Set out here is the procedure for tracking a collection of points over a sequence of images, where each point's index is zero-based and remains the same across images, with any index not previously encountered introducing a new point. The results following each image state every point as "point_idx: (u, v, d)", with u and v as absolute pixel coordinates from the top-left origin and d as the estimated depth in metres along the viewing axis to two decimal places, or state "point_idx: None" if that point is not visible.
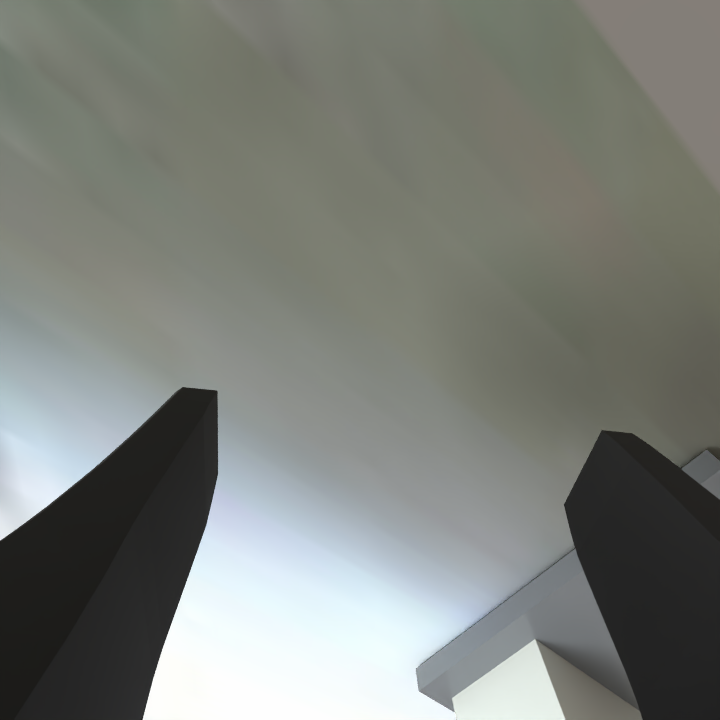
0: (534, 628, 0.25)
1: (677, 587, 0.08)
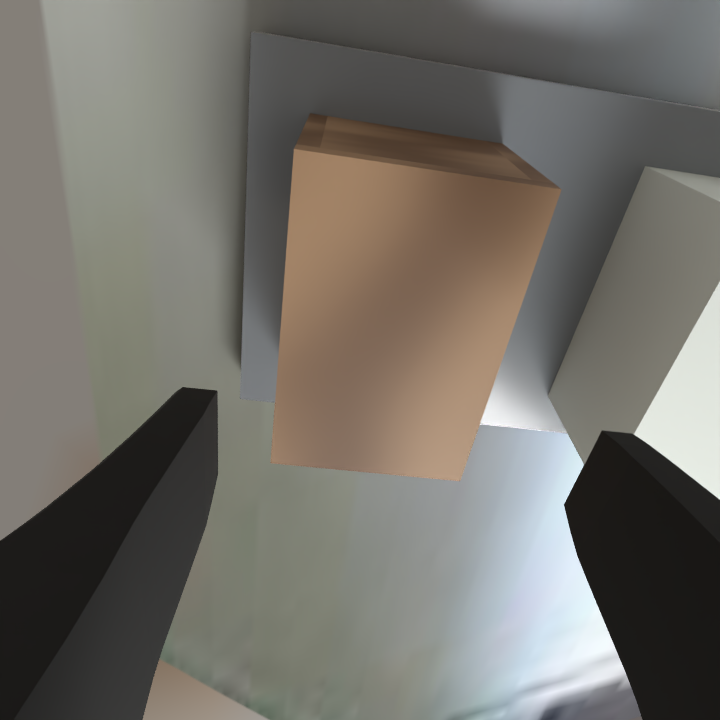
0: (531, 406, 0.20)
1: (677, 588, 0.08)
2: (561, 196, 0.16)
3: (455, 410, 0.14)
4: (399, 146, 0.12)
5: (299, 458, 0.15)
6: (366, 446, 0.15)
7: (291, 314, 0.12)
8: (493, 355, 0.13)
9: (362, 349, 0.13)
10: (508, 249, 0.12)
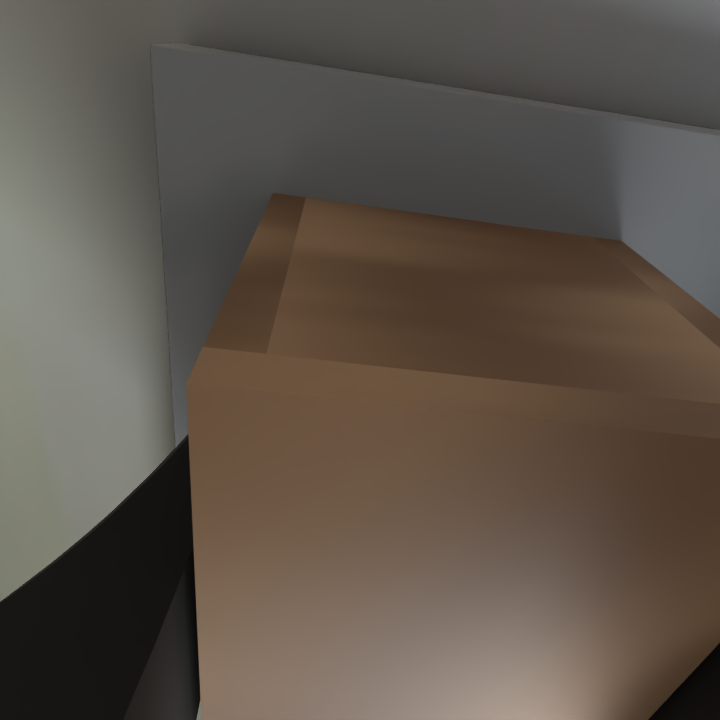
0: None
1: None
2: None
3: None
4: (454, 297, 0.06)
5: None
6: None
7: (220, 660, 0.06)
8: (641, 705, 0.06)
9: (374, 701, 0.06)
10: None
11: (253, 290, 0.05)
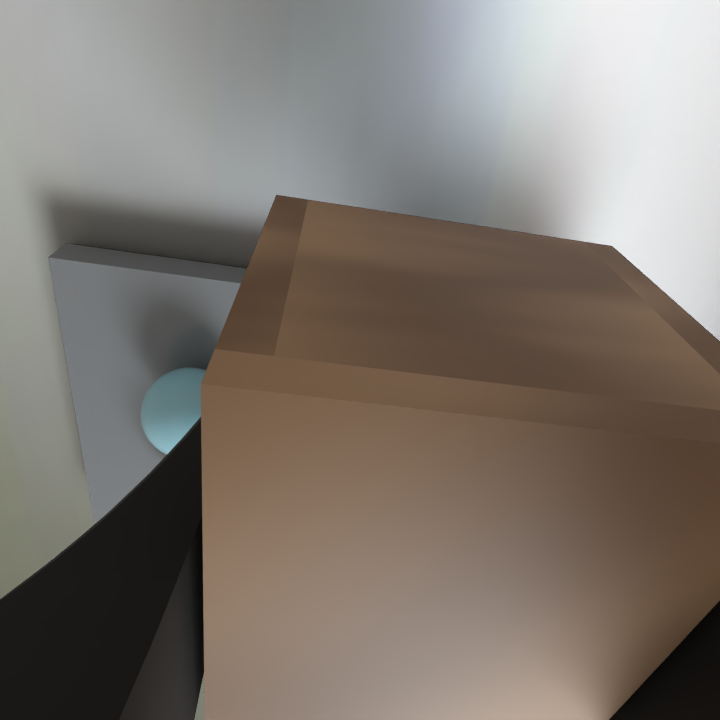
0: None
1: None
2: None
3: None
4: (450, 302, 0.06)
5: None
6: None
7: (224, 642, 0.06)
8: (620, 688, 0.07)
9: (367, 682, 0.07)
10: (693, 553, 0.05)
11: (260, 293, 0.05)
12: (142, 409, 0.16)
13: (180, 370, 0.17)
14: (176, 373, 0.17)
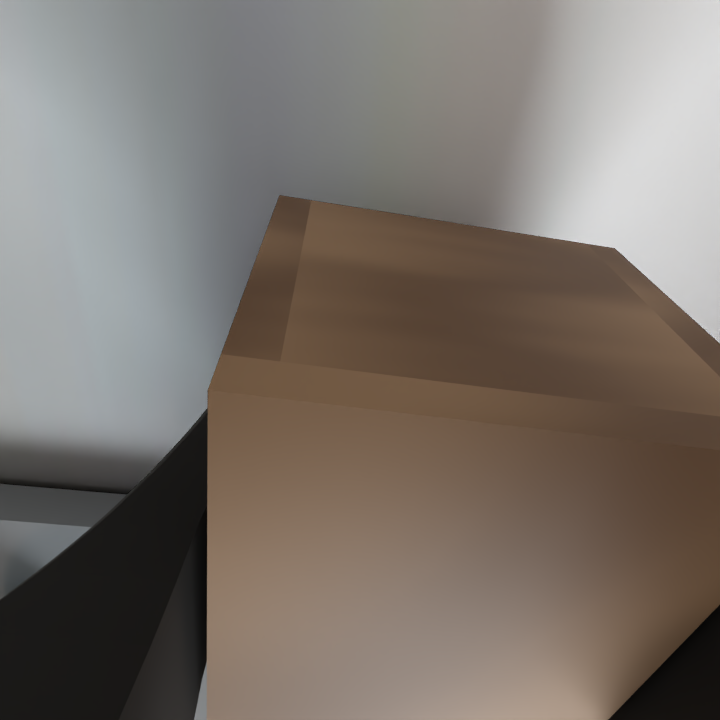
0: None
1: None
2: None
3: None
4: (454, 306, 0.06)
5: None
6: None
7: (227, 644, 0.06)
8: (619, 689, 0.07)
9: (369, 683, 0.07)
10: (695, 556, 0.05)
11: (265, 297, 0.05)
12: None
13: None
14: None
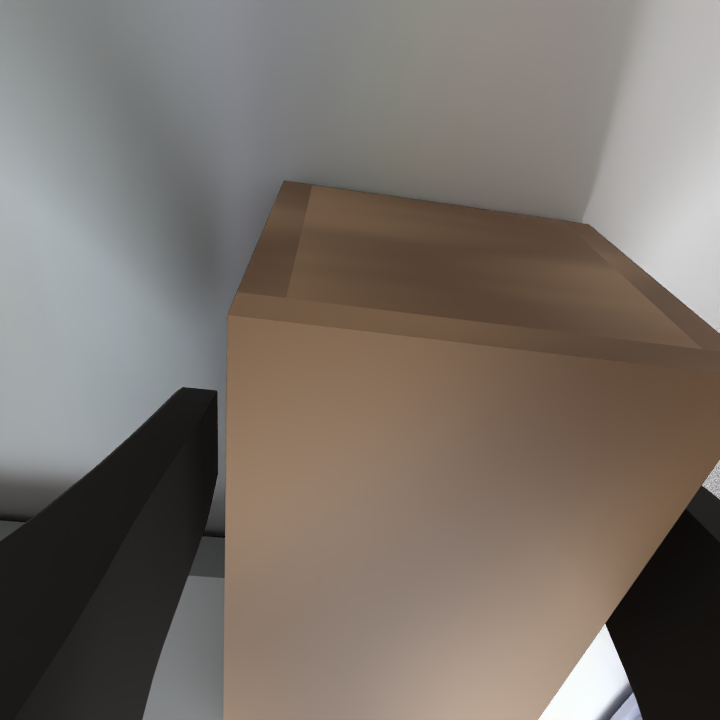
0: None
1: (677, 588, 0.08)
2: (190, 639, 0.15)
3: (522, 674, 0.09)
4: (437, 263, 0.07)
5: None
6: (375, 713, 0.09)
7: (242, 564, 0.07)
8: (596, 612, 0.08)
9: (369, 606, 0.07)
10: (649, 471, 0.06)
11: (272, 254, 0.06)
12: None
13: None
14: None
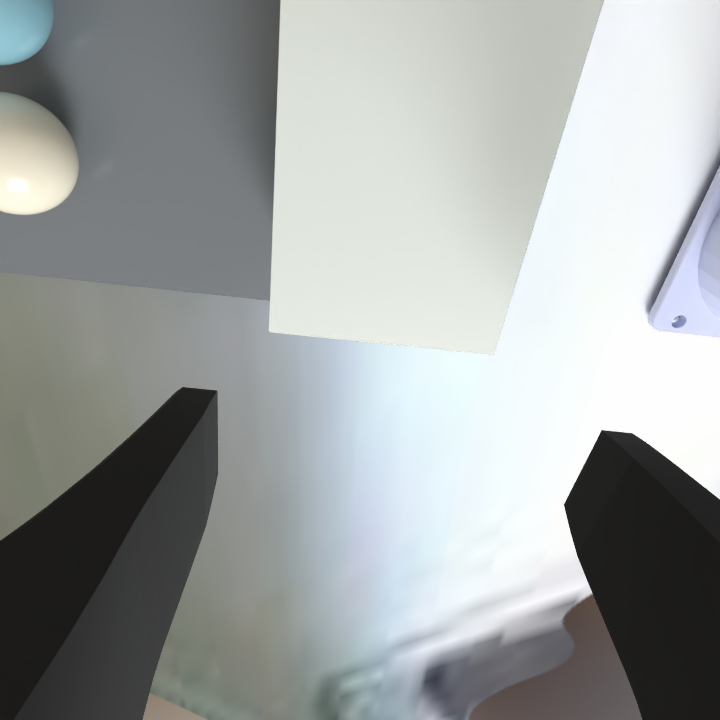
0: None
1: (676, 588, 0.08)
2: None
3: None
4: None
5: None
6: None
7: None
8: None
9: None
10: None
11: None
12: None
13: None
14: None
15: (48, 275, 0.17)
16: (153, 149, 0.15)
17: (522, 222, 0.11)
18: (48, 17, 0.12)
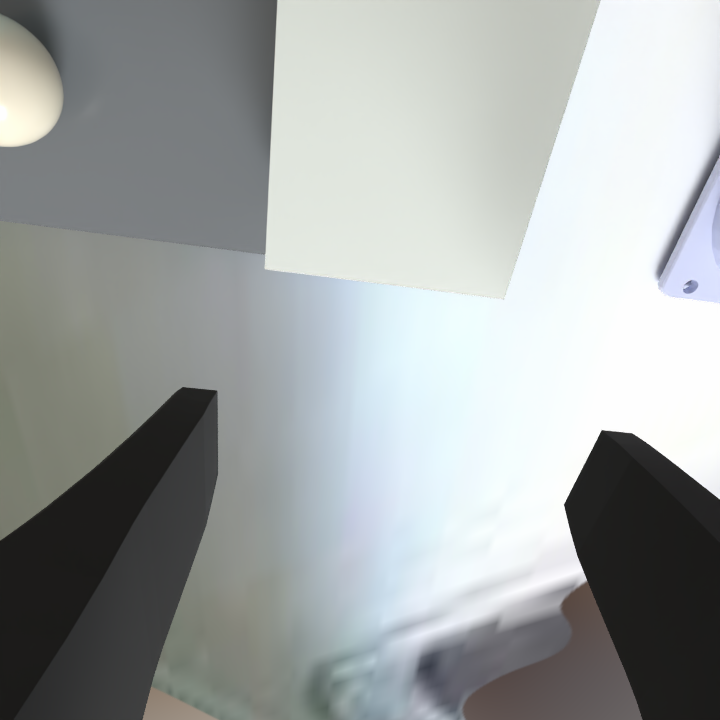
0: None
1: (677, 588, 0.08)
2: None
3: None
4: None
5: None
6: None
7: None
8: None
9: None
10: None
11: None
12: None
13: None
14: None
15: (31, 222, 0.16)
16: (143, 83, 0.14)
17: (539, 147, 0.10)
18: None
